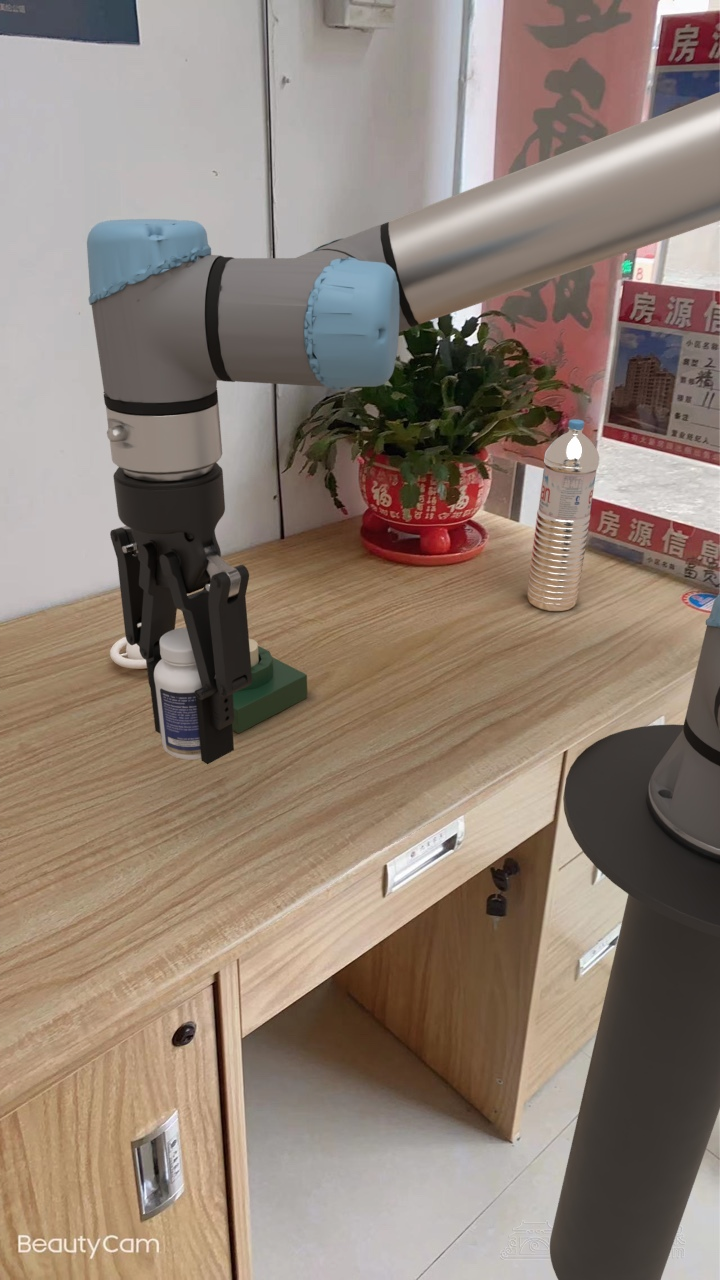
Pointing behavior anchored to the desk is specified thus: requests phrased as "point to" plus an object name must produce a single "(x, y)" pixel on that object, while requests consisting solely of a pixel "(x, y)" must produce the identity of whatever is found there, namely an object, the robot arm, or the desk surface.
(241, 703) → the green square peg base
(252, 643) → the cream cylindrical peg
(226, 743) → the robot arm
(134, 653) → the ring around a ball
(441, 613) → the desk surface
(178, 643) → the pill bottle
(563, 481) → the water bottle
